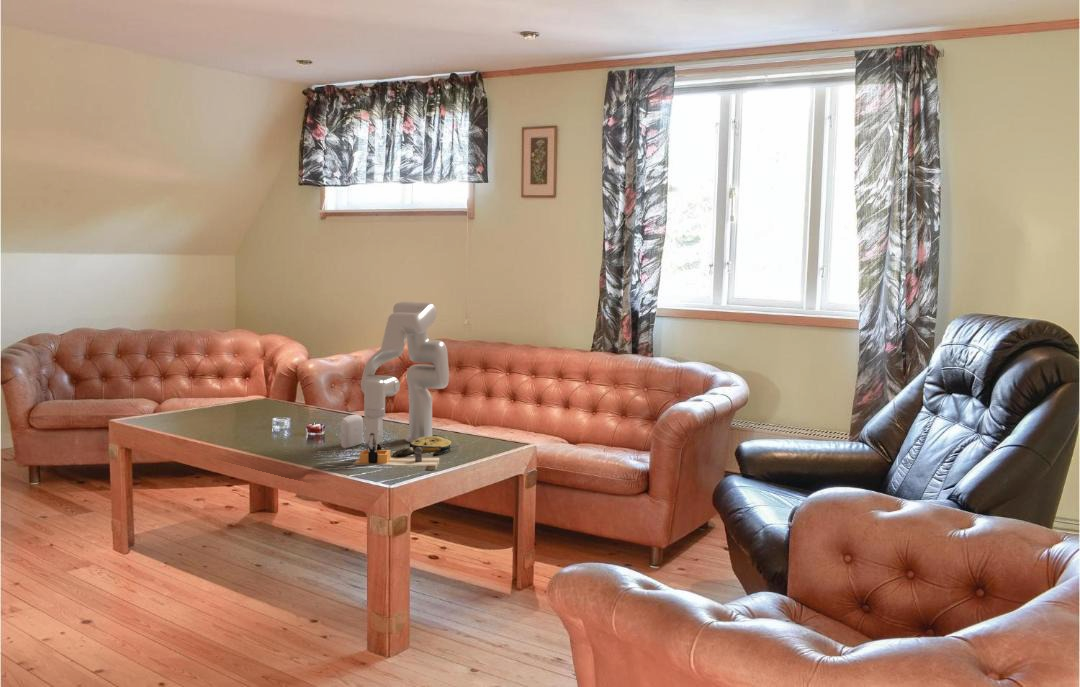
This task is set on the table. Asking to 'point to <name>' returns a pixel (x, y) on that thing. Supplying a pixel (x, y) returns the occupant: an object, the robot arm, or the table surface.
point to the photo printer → (351, 431)
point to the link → (382, 455)
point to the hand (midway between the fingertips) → (375, 459)
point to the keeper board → (409, 461)
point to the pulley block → (427, 446)
